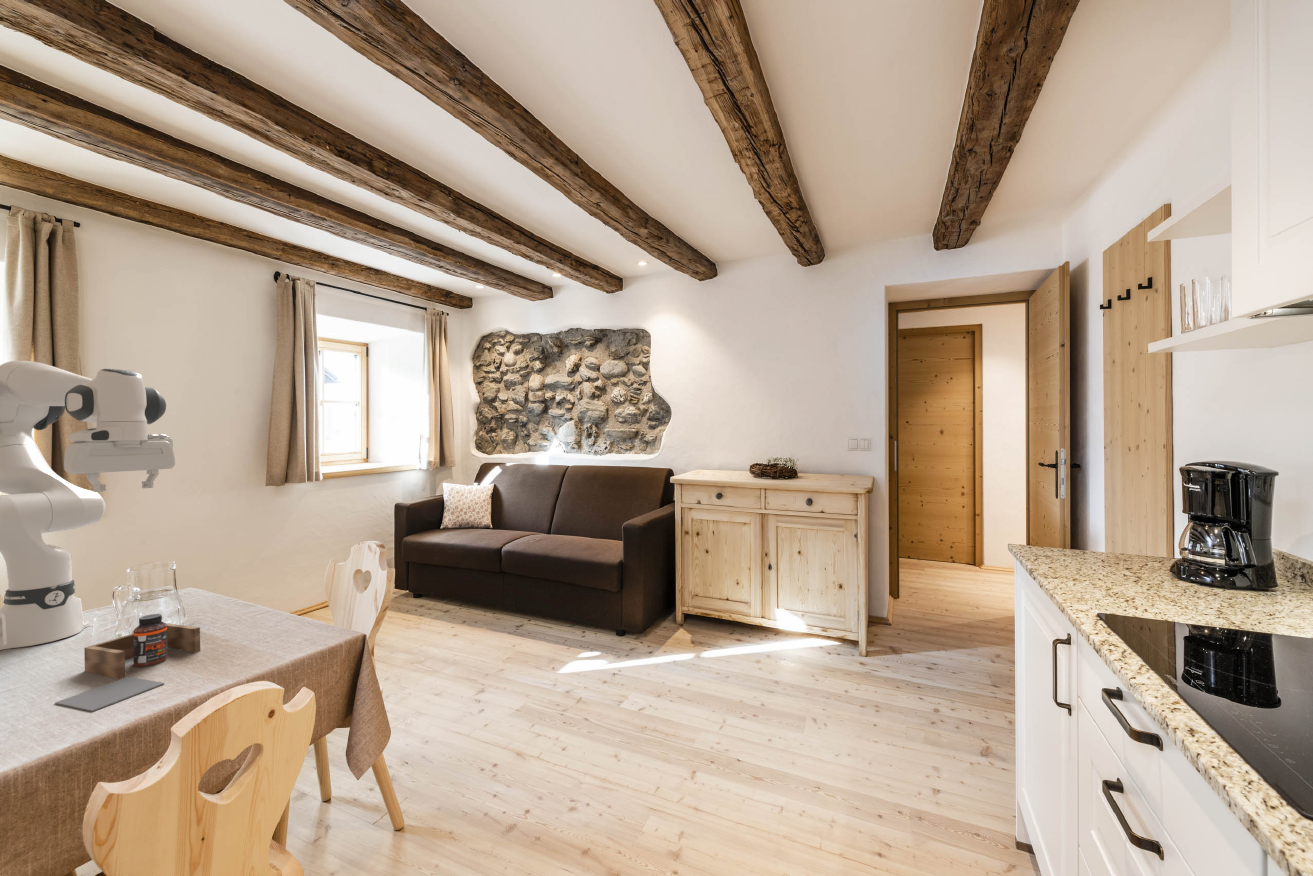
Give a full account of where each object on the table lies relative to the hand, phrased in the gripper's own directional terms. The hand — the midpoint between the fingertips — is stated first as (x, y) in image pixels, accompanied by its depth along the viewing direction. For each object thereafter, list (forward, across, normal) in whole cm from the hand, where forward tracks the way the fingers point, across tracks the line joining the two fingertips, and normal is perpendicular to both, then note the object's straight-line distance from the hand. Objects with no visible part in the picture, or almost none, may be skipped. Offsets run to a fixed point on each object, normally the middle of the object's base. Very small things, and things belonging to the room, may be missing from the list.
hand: (124, 490), depth 130 cm
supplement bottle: (+42, 0, +8) cm, 43 cm away
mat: (+42, +13, +19) cm, 48 cm away
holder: (+42, 0, +7) cm, 43 cm away
